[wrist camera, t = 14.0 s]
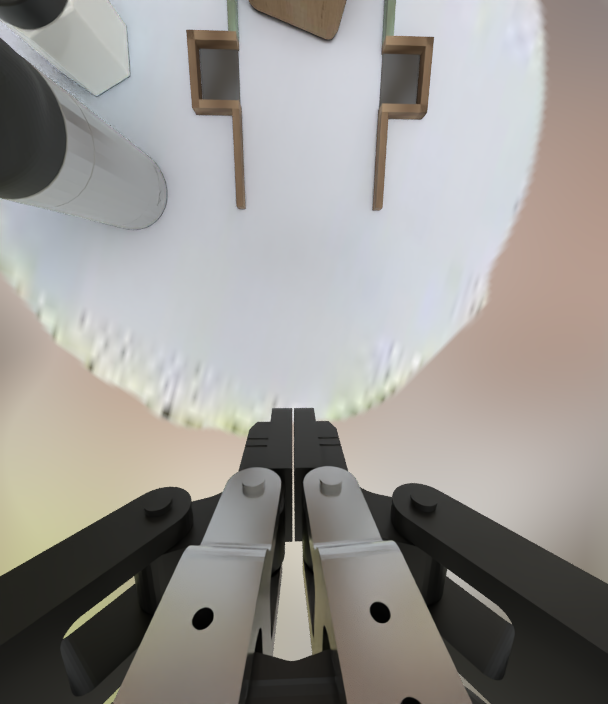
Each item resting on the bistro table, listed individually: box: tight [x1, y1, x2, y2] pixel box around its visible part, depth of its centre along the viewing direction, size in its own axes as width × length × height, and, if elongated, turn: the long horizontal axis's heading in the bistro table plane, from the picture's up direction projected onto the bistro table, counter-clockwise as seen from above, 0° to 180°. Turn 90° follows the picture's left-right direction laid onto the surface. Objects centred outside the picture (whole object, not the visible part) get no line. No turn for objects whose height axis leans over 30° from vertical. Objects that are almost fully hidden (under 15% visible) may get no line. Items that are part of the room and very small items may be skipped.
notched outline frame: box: [186, 0, 434, 210], centre depth 34 cm, size 26×30×2 cm
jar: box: [0, 0, 130, 96], centre depth 28 cm, size 9×8×12 cm
